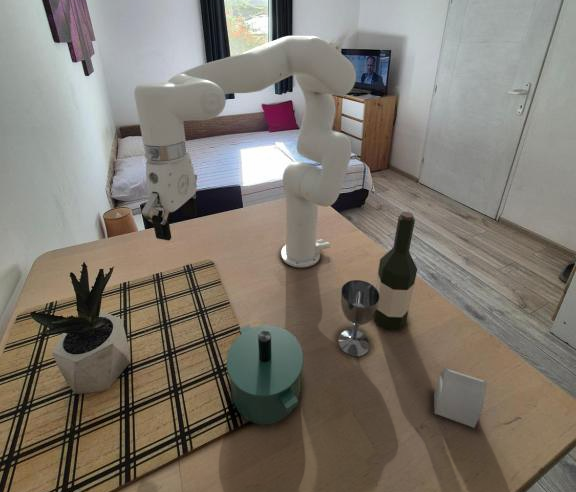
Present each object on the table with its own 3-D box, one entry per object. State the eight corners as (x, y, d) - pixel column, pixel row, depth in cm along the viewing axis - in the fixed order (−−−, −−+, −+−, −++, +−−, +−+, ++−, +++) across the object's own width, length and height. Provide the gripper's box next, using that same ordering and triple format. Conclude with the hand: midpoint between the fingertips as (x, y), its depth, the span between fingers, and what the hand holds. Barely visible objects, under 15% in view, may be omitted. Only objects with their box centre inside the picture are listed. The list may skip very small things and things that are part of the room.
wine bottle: (407, 310, 84) (429, 210, 72) (403, 335, 77) (426, 228, 65) (375, 300, 87) (390, 202, 75) (368, 323, 80) (384, 219, 68)
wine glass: (373, 333, 78) (380, 284, 71) (369, 362, 71) (377, 311, 65) (340, 324, 80) (344, 276, 74) (333, 351, 73) (338, 301, 67)
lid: (278, 318, 72) (278, 295, 69) (318, 372, 60) (320, 347, 58) (215, 350, 64) (212, 325, 62) (248, 417, 53) (246, 391, 50)
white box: (474, 427, 59) (488, 392, 55) (434, 413, 61) (445, 378, 57) (472, 407, 62) (485, 373, 58) (434, 394, 64) (444, 360, 60)
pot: (271, 337, 76) (271, 310, 73) (321, 410, 62) (324, 381, 58) (216, 367, 70) (213, 338, 66) (258, 456, 55) (256, 426, 51)
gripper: (154, 168, 53) (169, 253, 60) (205, 138, 69) (212, 208, 75) (116, 163, 55) (135, 246, 62) (174, 135, 70) (184, 204, 77)
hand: (177, 225), depth 69 cm, fingers open, 9 cm apart
